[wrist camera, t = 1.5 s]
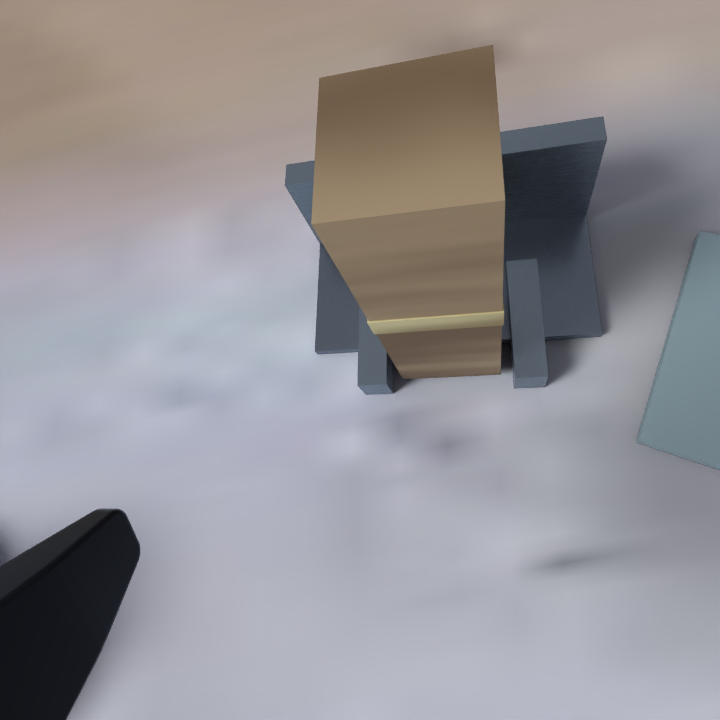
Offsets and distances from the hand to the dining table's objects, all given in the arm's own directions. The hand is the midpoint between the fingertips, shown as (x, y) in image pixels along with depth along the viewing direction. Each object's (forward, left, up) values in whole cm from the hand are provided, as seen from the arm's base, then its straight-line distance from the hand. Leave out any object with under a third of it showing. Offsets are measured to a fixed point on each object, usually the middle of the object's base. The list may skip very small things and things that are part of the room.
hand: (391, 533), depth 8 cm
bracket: (+8, -7, -13) cm, 17 cm away
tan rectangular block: (+6, -5, -13) cm, 16 cm away
